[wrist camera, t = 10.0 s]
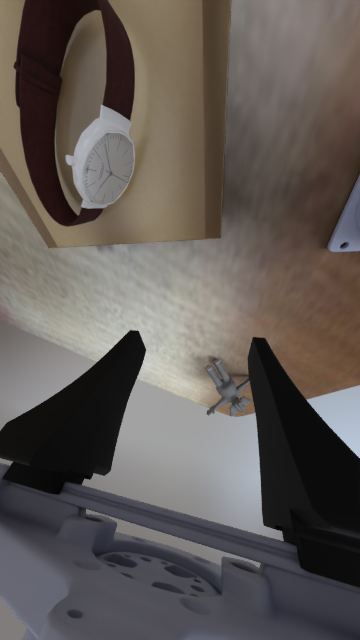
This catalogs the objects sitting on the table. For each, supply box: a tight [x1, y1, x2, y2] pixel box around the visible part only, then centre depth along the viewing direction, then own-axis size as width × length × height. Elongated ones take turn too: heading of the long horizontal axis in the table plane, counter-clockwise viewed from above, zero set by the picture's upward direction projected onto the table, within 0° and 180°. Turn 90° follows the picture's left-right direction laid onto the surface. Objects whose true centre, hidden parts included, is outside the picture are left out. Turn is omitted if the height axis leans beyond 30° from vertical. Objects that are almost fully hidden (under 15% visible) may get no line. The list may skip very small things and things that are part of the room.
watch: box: [13, 0, 135, 227], centre depth 7 cm, size 8×5×4 cm, turn 146°
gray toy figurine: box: [205, 359, 250, 416], centre depth 28 cm, size 10×6×9 cm
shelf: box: [0, 0, 231, 248], centre depth 10 cm, size 13×10×5 cm
